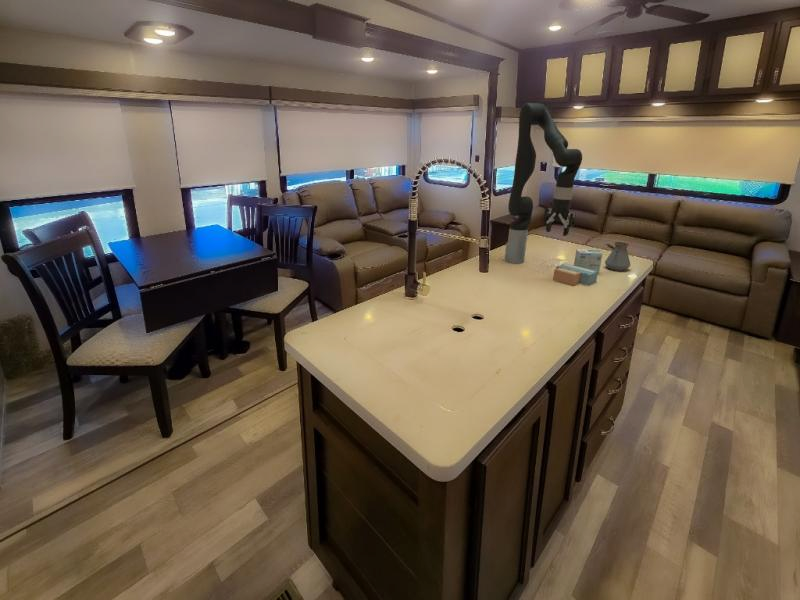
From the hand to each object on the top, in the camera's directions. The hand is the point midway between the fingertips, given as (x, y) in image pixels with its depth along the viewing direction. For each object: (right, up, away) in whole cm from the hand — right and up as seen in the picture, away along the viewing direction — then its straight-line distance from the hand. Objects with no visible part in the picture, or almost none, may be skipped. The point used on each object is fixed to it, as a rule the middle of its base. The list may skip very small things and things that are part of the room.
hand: (556, 233), depth 186 cm
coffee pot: (+34, -16, +17) cm, 41 cm away
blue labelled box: (+10, -20, +4) cm, 23 cm away
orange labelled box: (+4, -22, +1) cm, 22 cm away
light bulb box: (+20, -17, +14) cm, 29 cm away
